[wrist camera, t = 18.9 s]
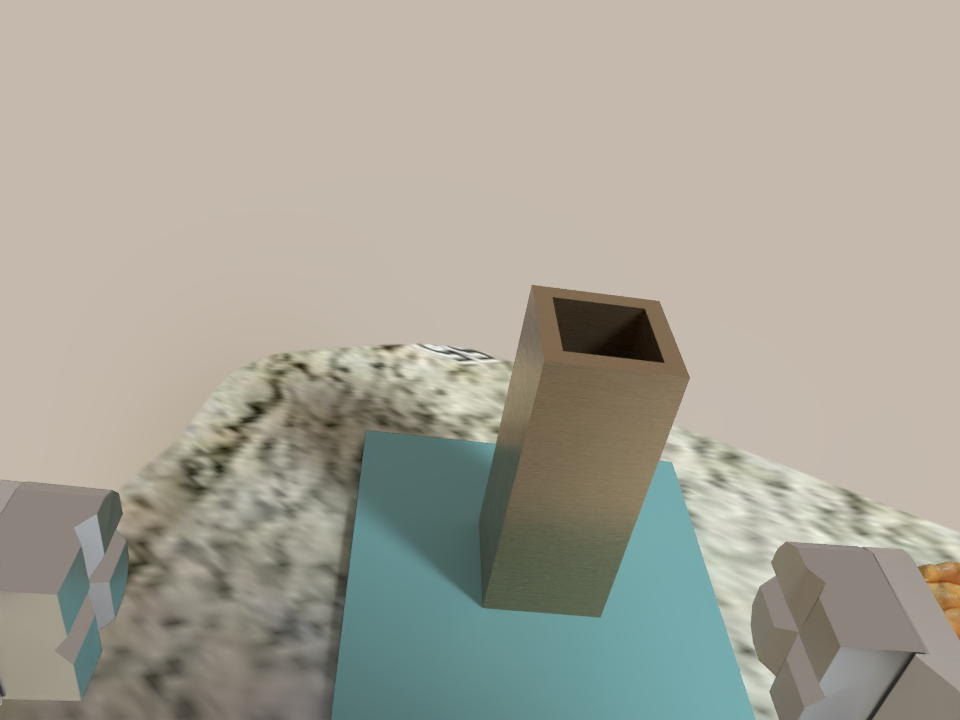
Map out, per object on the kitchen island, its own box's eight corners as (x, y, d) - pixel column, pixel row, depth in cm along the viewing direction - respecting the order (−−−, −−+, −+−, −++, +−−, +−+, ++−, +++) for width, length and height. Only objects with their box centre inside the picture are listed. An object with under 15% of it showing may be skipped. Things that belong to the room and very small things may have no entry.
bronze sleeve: (584, 529, 45) (659, 301, 37) (600, 617, 40) (689, 377, 32) (478, 519, 44) (531, 284, 36) (482, 608, 39) (544, 360, 32)
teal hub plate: (669, 469, 51) (693, 406, 48) (760, 758, 36) (802, 690, 33) (365, 438, 49) (372, 370, 46) (329, 732, 34) (337, 657, 31)
